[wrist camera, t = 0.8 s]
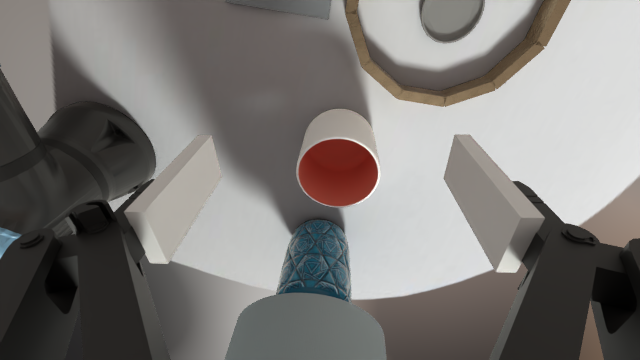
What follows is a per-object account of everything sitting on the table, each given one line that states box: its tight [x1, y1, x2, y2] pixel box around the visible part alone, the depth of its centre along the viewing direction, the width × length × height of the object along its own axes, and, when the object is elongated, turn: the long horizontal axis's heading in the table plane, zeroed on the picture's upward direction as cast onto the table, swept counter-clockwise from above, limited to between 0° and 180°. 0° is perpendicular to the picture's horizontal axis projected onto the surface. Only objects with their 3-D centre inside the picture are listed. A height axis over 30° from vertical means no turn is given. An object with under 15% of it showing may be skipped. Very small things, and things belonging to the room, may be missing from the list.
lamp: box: [225, 219, 386, 360], centre depth 38 cm, size 19×19×38 cm
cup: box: [296, 109, 381, 208], centre depth 38 cm, size 10×10×10 cm
